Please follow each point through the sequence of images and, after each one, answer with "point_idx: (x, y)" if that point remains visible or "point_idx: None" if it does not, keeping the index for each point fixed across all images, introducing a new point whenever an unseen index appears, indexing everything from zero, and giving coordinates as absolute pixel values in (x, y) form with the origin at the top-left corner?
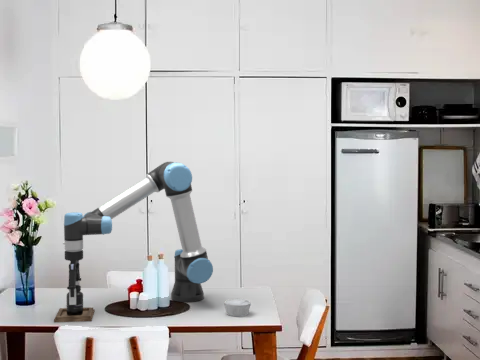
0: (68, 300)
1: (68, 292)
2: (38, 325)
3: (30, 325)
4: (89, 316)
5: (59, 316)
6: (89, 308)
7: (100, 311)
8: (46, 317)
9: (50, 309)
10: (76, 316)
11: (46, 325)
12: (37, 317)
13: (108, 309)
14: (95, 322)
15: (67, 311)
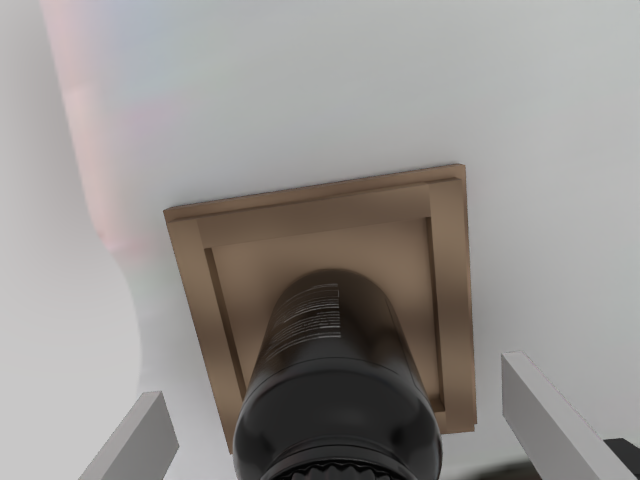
0: (258, 369)
1: (319, 415)
2: (68, 111)
3: (52, 40)
4: (229, 447)
5: (188, 252)
6: (441, 412)
7: (474, 442)
8: (303, 100)
9: (580, 47)
10: (208, 373)
11: (82, 175)
12: (298, 13)
13: (524, 477)
14: (211, 458)
15: (285, 296)
